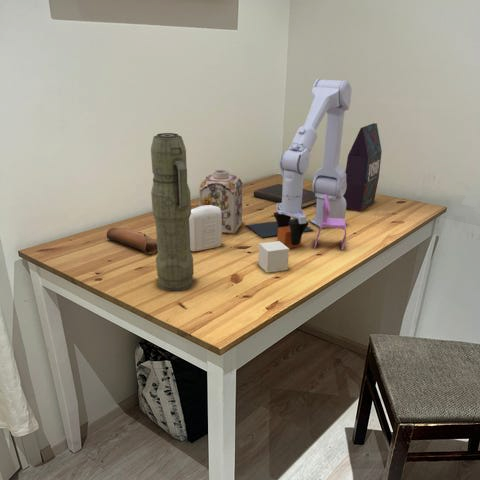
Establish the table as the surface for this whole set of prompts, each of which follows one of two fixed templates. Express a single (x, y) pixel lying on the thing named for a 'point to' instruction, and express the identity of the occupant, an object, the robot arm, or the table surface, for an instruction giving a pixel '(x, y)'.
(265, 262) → the white cube
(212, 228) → the photo printer
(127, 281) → the table surface
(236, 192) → the decorative jar
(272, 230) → the back mat
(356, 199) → the decorative box
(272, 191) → the hardcover book
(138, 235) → the sunglasses case
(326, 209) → the toy chair
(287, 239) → the orange box
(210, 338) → the table surface
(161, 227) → the thermos
